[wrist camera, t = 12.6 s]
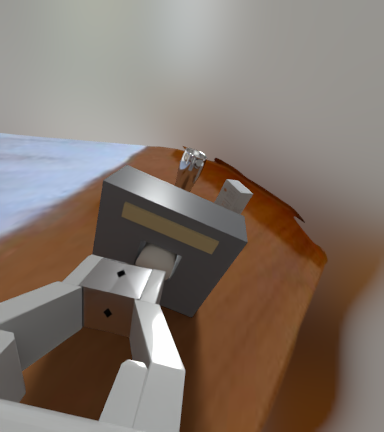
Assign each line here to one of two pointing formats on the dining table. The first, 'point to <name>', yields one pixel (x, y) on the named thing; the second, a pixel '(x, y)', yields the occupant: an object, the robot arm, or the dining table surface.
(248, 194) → the small box
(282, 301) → the dining table surface
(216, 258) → the control block
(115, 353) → the dining table surface
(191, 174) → the beer glass
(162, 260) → the knob
